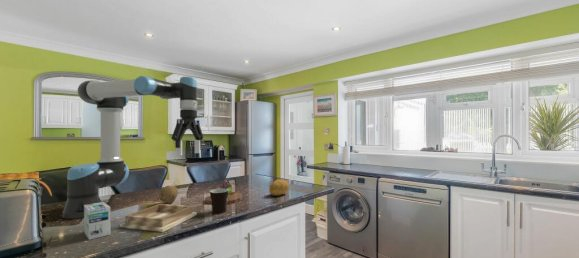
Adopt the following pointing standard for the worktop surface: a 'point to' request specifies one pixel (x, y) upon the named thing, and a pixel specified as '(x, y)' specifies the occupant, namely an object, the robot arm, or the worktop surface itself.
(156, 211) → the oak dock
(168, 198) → the natural sponge
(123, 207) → the worktop surface
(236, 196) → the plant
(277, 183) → the potato
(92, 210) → the light bulb box
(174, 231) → the worktop surface
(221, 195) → the coffee mug
